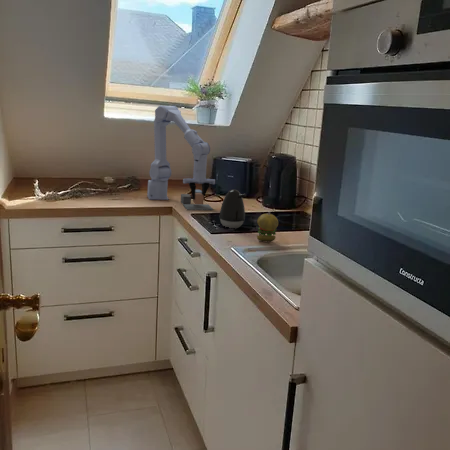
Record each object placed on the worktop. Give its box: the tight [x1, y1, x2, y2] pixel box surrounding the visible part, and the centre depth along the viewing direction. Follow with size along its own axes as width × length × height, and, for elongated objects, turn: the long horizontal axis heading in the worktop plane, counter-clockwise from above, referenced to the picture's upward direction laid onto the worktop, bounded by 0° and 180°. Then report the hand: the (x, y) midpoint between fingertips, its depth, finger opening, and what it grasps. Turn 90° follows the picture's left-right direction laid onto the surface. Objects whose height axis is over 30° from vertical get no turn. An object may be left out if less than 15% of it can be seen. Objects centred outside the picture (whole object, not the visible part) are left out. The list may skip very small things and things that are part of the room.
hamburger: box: [256, 211, 279, 243], centre depth 175 cm, size 8×7×12 cm
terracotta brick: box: [192, 193, 205, 204], centre depth 221 cm, size 4×6×4 cm, turn 15°
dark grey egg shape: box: [219, 189, 247, 229], centre depth 192 cm, size 10×10×15 cm
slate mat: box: [182, 203, 214, 211], centre depth 221 cm, size 12×9×1 cm
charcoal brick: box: [180, 193, 192, 205], centre depth 228 cm, size 4×6×4 cm, turn 16°
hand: (198, 199), depth 221 cm, fingers closed on terracotta brick, 3 cm apart
